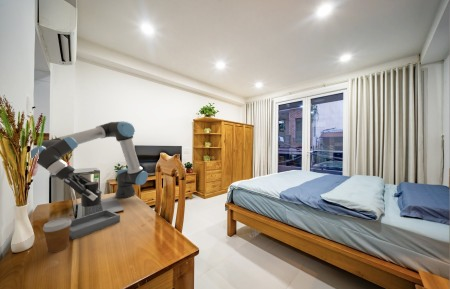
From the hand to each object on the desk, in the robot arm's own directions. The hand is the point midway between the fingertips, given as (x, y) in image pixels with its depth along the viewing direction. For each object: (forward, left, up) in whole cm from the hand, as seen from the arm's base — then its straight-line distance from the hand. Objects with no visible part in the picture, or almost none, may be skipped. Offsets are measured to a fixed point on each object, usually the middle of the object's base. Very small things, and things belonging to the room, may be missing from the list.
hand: (98, 196), depth 99 cm
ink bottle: (+3, -2, -4) cm, 6 cm away
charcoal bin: (+3, -2, -17) cm, 17 cm away
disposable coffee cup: (+20, +9, -17) cm, 27 cm away
